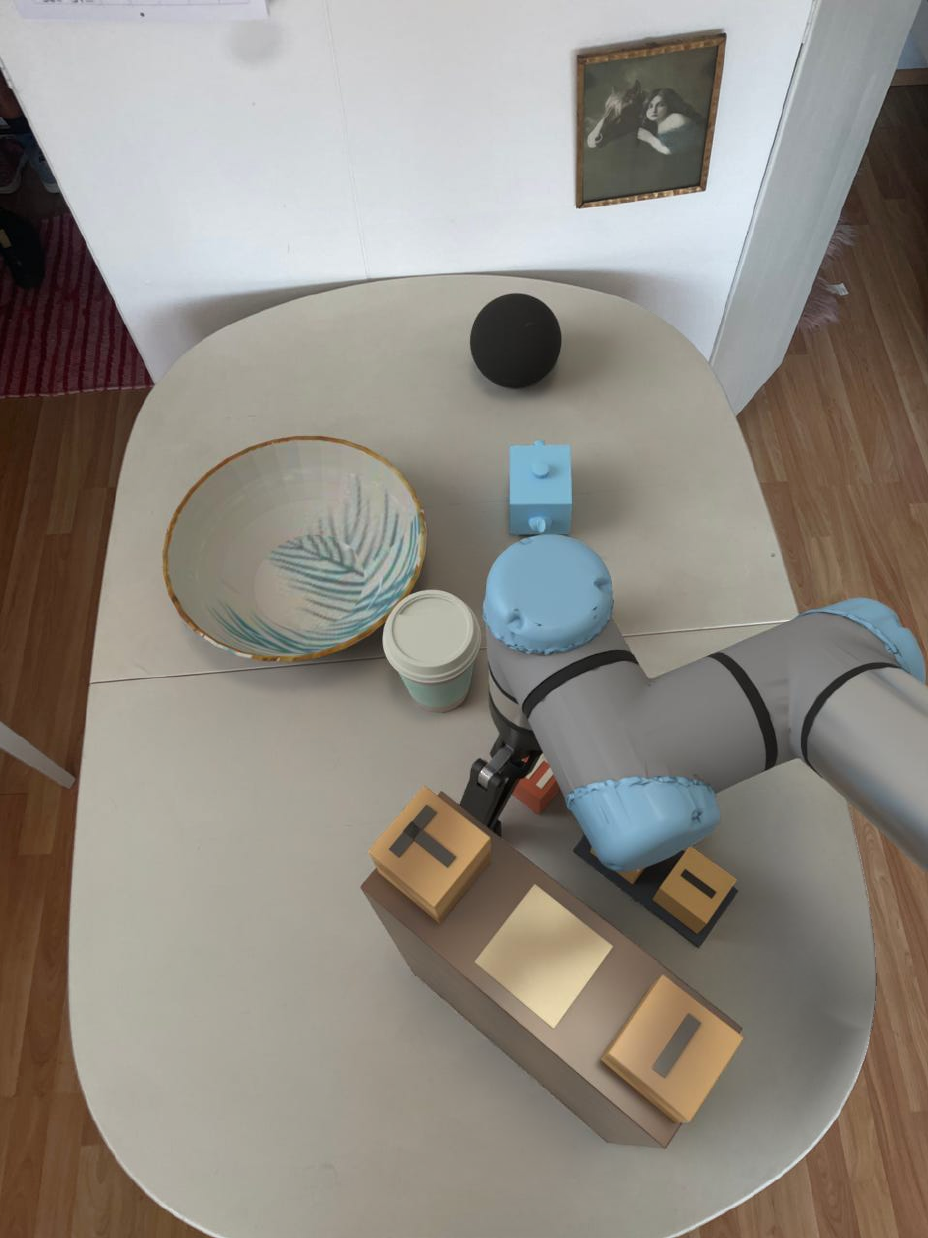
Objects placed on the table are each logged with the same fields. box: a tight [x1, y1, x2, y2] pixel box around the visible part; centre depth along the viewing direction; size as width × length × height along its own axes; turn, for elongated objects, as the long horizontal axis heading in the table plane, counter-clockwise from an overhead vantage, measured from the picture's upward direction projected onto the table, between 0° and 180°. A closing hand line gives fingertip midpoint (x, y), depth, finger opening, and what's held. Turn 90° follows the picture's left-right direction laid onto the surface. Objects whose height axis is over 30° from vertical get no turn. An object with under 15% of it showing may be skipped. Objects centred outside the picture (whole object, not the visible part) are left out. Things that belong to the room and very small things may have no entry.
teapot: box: [509, 439, 573, 535], centre depth 99 cm, size 12×6×8 cm, turn 179°
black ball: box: [469, 292, 563, 389], centre depth 107 cm, size 10×10×10 cm
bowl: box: [162, 435, 428, 663], centre depth 97 cm, size 25×25×8 cm
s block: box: [511, 753, 561, 816], centre depth 87 cm, size 4×4×5 cm
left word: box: [572, 834, 739, 949], centre depth 83 cm, size 13×6×5 cm, turn 51°
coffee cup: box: [382, 589, 482, 713], centre depth 89 cm, size 8×9×12 cm
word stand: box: [359, 785, 745, 1150], centre depth 64 cm, size 20×7×37 cm, turn 51°
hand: (533, 777), depth 89 cm, fingers open, 13 cm apart
